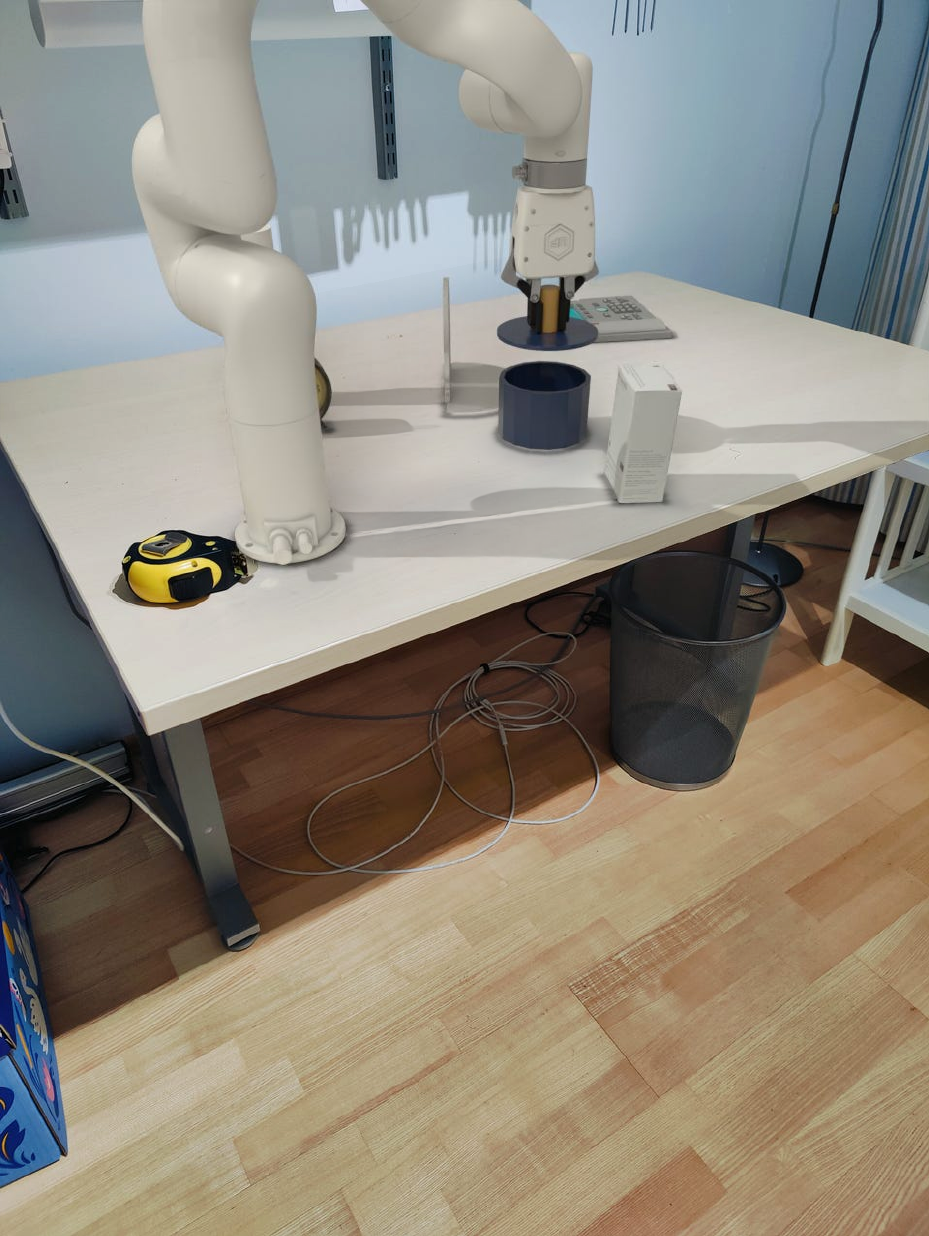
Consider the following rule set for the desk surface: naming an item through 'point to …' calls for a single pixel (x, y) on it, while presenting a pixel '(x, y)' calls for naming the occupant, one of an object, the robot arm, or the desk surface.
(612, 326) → the office telephone
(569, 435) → the tin
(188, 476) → the desk surface
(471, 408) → the grey metal bookend
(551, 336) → the tin lid
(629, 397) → the cosmetic box
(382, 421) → the desk surface
